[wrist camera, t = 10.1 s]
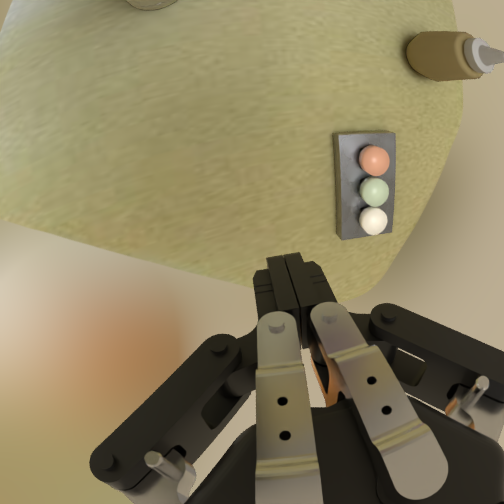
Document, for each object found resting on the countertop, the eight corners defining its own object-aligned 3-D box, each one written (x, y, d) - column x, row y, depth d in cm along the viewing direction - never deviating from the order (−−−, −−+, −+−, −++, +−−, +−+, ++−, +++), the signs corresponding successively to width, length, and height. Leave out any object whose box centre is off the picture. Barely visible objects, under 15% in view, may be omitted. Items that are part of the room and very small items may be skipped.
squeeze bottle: (404, 80, 33) (490, 87, 17) (394, 31, 29) (477, 15, 13) (442, 81, 32) (525, 94, 17) (433, 36, 28) (515, 31, 13)
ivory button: (353, 201, 42) (363, 211, 38) (376, 198, 41) (388, 208, 38) (353, 225, 44) (362, 236, 40) (375, 221, 43) (386, 233, 40)
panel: (332, 132, 37) (338, 135, 35) (387, 130, 37) (395, 133, 35) (336, 233, 45) (341, 240, 43) (385, 225, 45) (391, 232, 43)
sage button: (352, 172, 39) (364, 180, 36) (376, 170, 39) (389, 178, 36) (353, 198, 41) (364, 208, 38) (376, 195, 41) (388, 205, 38)
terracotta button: (351, 142, 37) (363, 148, 34) (376, 141, 37) (389, 146, 34) (352, 169, 39) (364, 177, 36) (376, 167, 39) (389, 175, 36)
